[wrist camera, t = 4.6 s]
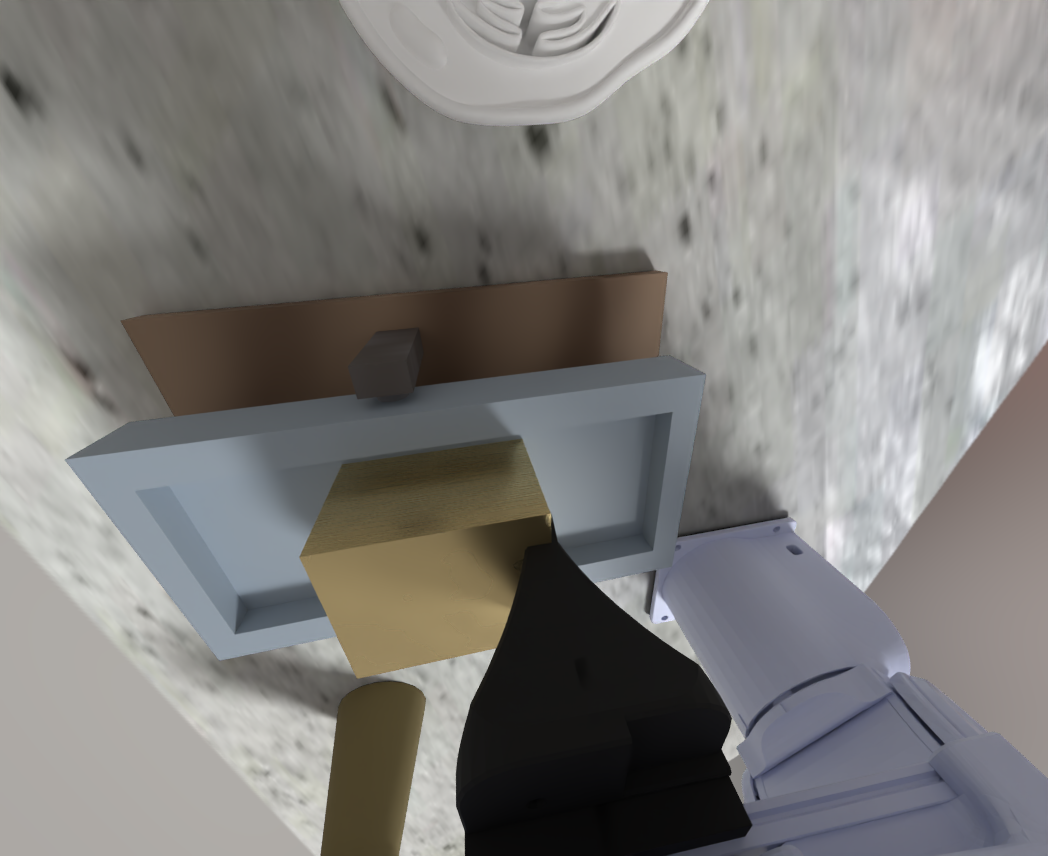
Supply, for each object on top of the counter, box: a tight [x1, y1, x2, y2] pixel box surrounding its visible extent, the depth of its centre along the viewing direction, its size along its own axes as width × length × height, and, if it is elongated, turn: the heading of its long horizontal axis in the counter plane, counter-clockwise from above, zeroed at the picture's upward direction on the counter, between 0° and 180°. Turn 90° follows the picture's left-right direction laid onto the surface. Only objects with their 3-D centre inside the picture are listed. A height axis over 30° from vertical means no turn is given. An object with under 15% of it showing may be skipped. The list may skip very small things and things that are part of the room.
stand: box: [121, 271, 668, 417], centre depth 16 cm, size 20×14×5 cm
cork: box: [321, 681, 426, 856], centre depth 22 cm, size 6×6×11 cm
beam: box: [65, 355, 706, 661], centre depth 14 cm, size 18×9×2 cm, turn 94°
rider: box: [299, 439, 552, 679], centre depth 12 cm, size 6×5×4 cm
